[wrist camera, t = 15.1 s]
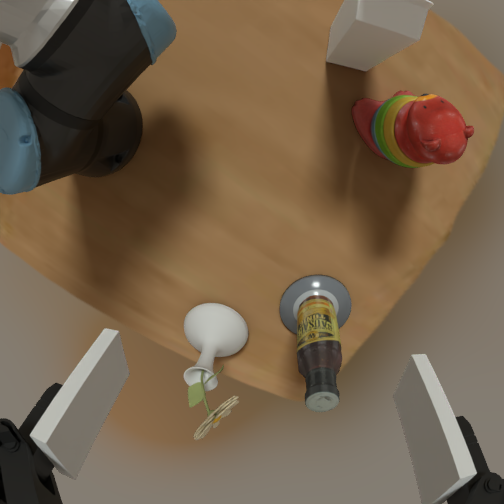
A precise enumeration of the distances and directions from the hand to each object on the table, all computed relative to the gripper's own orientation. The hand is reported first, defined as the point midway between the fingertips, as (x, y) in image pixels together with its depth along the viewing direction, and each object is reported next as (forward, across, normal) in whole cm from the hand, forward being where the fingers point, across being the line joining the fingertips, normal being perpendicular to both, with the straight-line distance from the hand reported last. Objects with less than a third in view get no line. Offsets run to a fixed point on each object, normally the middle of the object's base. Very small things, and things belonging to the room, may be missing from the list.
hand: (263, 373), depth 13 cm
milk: (+35, +9, +23) cm, 43 cm away
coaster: (+35, +8, -18) cm, 40 cm away
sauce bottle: (+34, +8, -18) cm, 39 cm away
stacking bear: (+35, +16, +12) cm, 40 cm away
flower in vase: (+35, -8, -23) cm, 43 cm away
